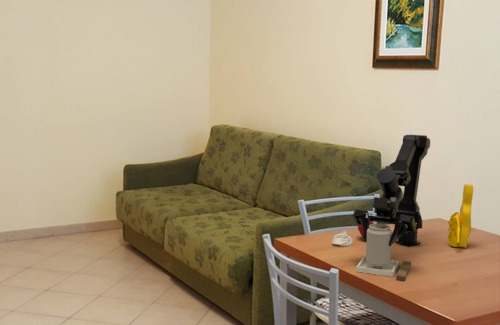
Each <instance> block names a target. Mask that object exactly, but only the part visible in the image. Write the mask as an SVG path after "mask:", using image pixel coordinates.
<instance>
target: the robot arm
mask: <svg viewBox="0 0 500 325" xmlns="http://www.w3.org/2000/svg"><path fill="white" fill-rule="evenodd" d="M430 147H431V140H430V138H429V137H428V136H427V135H423V134H421V135H420V134H405V135H403V137H402V144H401V146H400V148H399V151H398V153H397V156H396V158H395V160H394V162H391V163H390V164H389V165H385V167H384V168H382V169H381V170H379V171H378V172H377V173H376V179H377V183H378V185H379V189H380V191H381V192H382V194H381V197H377V196H375V197H373V202H372V208H373V209H374V210H373V211H374V213H375V214H369V211H368V209H361V208H356V209H354V211H353V214H352V216H353V218H354V221H355V223H356V225H357V224H358V225H362V227H363V228H364V239H363V240H364V241H363V242H364V243H366V242H367V229H368V228H370V227H369V225H370V222H371V221H373V223H374V222H376V223H379V224H386V225H389V224H390V225H394V227H393V228H394V229H393V231H392V236H391V239H390V242H389V246H391V247H392V245H394V244H395V243H396V244H399V245H402V246H405V247H406V246H407V247H412V246H416V245H421V241H418V230H419V229H423V218H422V215H421V211H420V210H421V209H420V206H419V203H418V202H417V198H418V189H419V184H420V183H419V182H420V181H419V180H420V175H421V169H422V168H421V167H422V161H423V160H424V158H425V157H426V156H427V155H428V151H429V149H430ZM401 187H404V189H403V190H402V188H401ZM402 195H403V196H402Z"/></svg>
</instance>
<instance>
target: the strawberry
mask: <svg viewBox="0 0 500 325" xmlns="http://www.w3.org/2000/svg"><path fill="white" fill-rule="evenodd" d="M371 224H375V223H374V221H371V222H370V225H371ZM356 225H357V229H358V231H359V234H360V236H361V238H362V239H363V240H364V228H363V227H362V225H358V224H357V223H356Z"/></svg>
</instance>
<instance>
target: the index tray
mask: <svg viewBox="0 0 500 325" xmlns="http://www.w3.org/2000/svg"><path fill="white" fill-rule="evenodd" d="M398 267H399V260H392V259H391V262H390V263H389V264H388V265H387V266H382V267H379V266H372V265H370V264H369V263H368V262H367V261H366V256H362V258H361V260H360V261H359V263H358V264H357V265H356V268H355V270H356V271H355V272H356V273H359V272H363V273H362V274H367V273H370V274H369V275H375V274H376V275H375V276H382V277H383V276H384V277H391V278H393V277H394V275H395V274H396V272H397V270H398Z"/></svg>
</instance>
